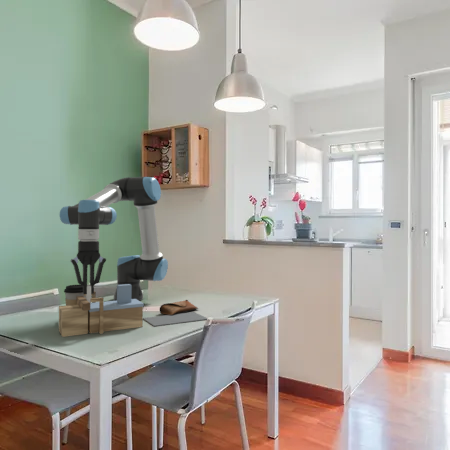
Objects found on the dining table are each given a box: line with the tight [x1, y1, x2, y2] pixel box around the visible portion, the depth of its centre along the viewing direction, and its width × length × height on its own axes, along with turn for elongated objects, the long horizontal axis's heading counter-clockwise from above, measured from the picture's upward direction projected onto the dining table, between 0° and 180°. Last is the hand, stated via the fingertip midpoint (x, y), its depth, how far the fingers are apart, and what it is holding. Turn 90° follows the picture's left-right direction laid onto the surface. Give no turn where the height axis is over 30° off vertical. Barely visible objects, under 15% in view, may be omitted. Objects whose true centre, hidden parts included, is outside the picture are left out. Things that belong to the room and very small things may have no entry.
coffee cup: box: [63, 284, 86, 306], centre depth 160 cm, size 9×9×15 cm
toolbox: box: [58, 290, 144, 338], centre depth 153 cm, size 15×30×13 cm, turn 119°
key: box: [76, 296, 90, 311], centre depth 149 cm, size 16×2×2 cm, turn 29°
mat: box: [143, 311, 208, 327], centre depth 168 cm, size 14×24×1 cm, turn 119°
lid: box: [88, 284, 145, 312], centre depth 155 cm, size 11×21×9 cm, turn 119°
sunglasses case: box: [159, 299, 199, 315], centre depth 182 cm, size 18×7×7 cm
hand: (88, 302), depth 150 cm, fingers closed
